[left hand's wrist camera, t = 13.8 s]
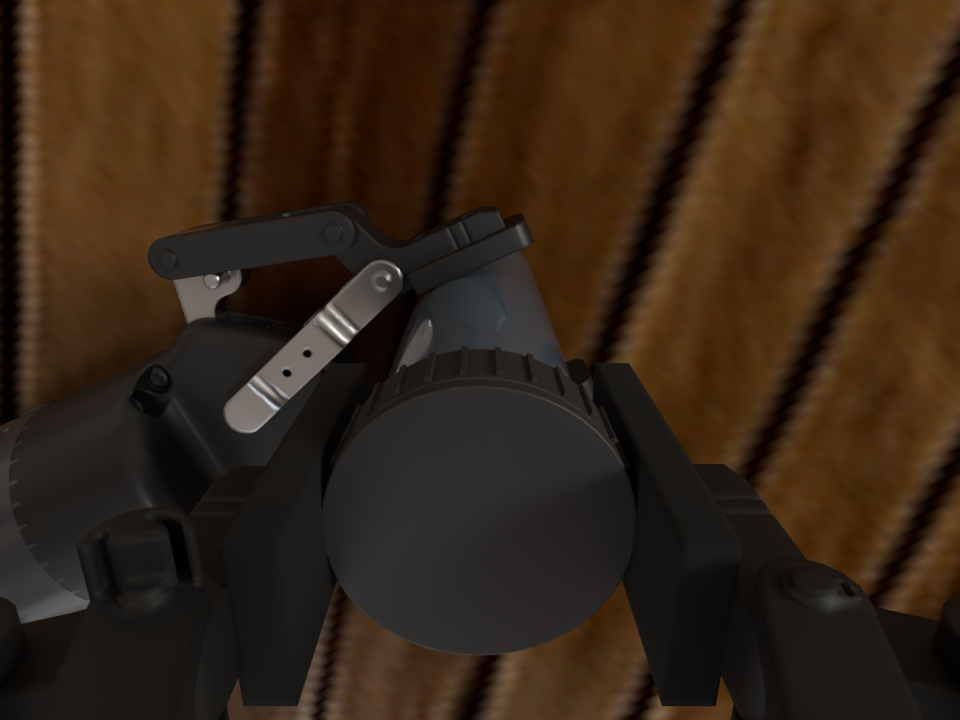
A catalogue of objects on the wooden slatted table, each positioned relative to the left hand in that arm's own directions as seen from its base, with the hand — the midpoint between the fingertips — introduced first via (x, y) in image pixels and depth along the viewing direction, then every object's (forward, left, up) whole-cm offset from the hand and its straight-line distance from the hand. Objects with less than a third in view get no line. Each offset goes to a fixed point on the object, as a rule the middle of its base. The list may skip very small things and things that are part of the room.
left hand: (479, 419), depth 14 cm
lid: (0, 0, +4) cm, 4 cm away
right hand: (+2, -2, -6) cm, 6 cm away
